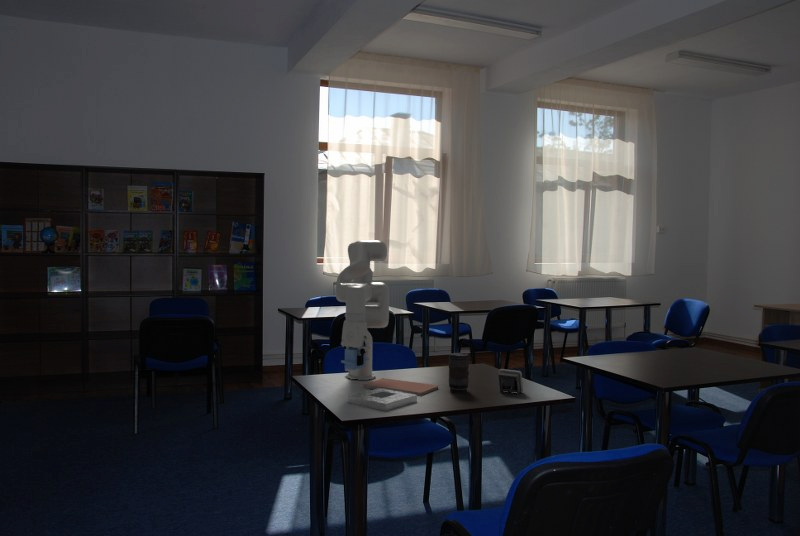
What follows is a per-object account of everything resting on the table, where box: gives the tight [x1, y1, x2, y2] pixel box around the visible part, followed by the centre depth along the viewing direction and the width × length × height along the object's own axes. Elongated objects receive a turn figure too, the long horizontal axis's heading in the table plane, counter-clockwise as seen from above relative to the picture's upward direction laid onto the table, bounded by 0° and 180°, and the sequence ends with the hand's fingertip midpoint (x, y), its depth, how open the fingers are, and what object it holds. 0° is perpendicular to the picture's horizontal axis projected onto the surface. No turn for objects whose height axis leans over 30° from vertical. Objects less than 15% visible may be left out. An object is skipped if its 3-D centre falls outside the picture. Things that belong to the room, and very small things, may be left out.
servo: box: [340, 348, 369, 370], centre depth 248 cm, size 11×4×8 cm, turn 141°
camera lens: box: [448, 352, 470, 394], centre depth 257 cm, size 8×8×15 cm
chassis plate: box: [347, 388, 418, 412], centre depth 237 cm, size 18×18×2 cm
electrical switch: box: [498, 368, 524, 394], centre depth 256 cm, size 9×5×9 cm, turn 59°
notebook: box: [362, 377, 440, 397], centre depth 261 cm, size 27×17×2 cm, turn 60°
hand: (355, 363), depth 248 cm, fingers closed on servo, 4 cm apart
